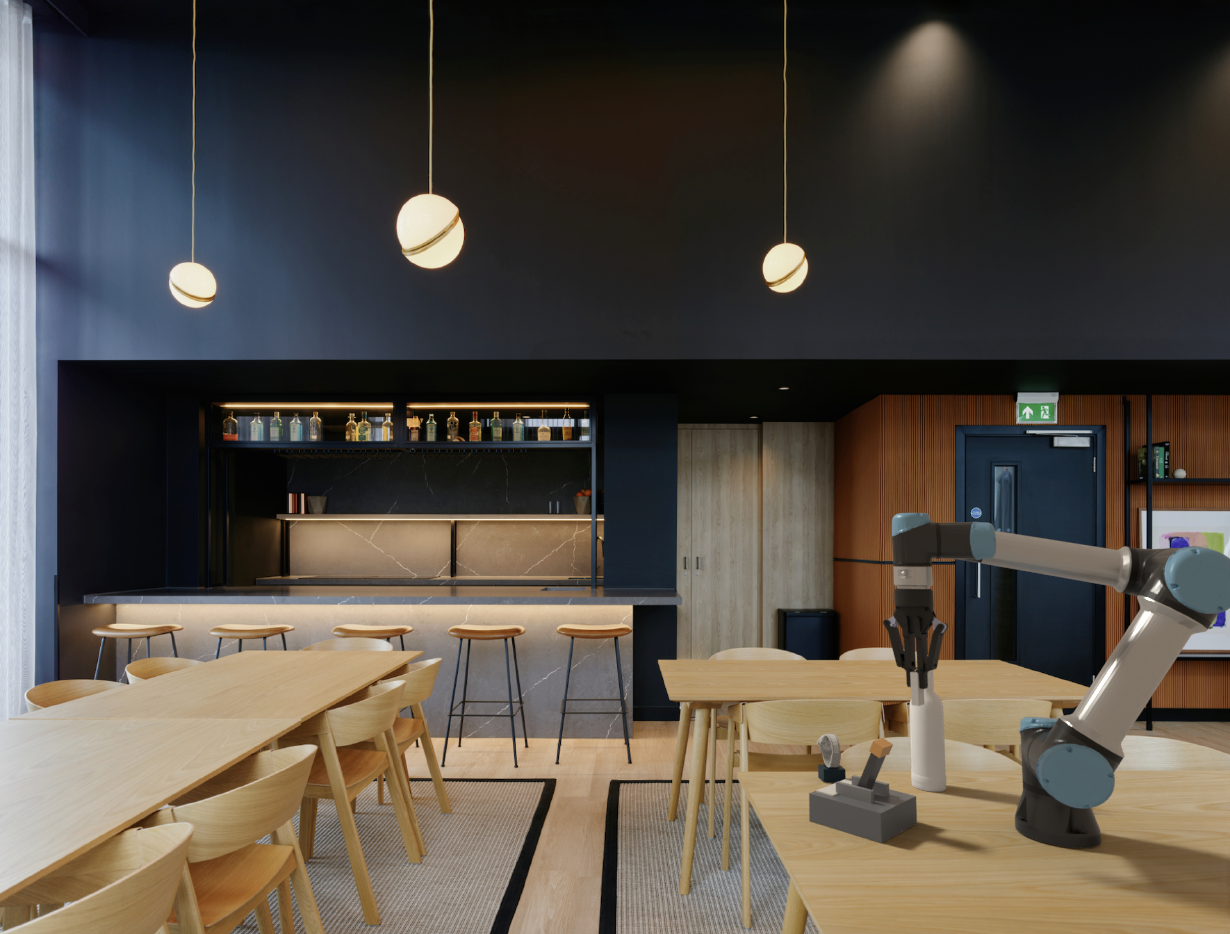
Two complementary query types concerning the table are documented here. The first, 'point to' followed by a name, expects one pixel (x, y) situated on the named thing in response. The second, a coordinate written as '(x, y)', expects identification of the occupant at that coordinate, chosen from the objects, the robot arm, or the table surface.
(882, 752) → the lever
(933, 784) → the bottle
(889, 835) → the box
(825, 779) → the watch
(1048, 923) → the table surface
